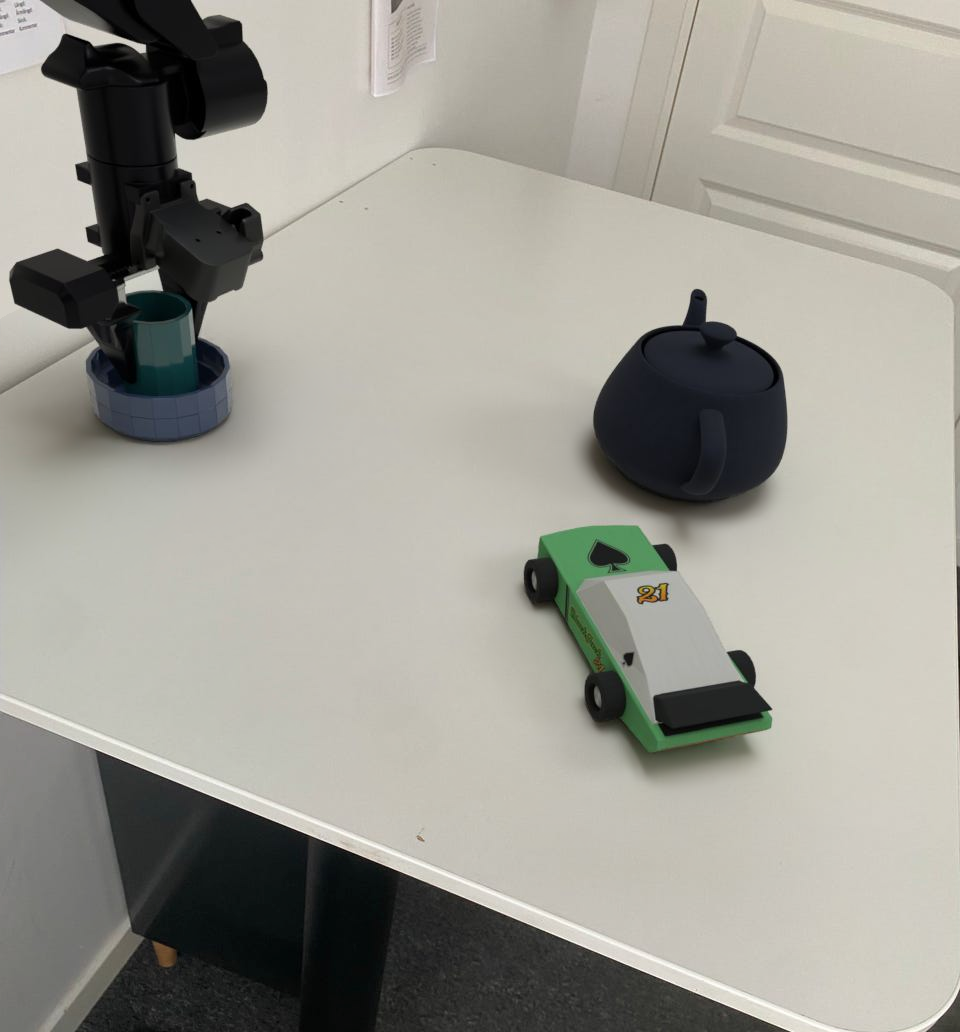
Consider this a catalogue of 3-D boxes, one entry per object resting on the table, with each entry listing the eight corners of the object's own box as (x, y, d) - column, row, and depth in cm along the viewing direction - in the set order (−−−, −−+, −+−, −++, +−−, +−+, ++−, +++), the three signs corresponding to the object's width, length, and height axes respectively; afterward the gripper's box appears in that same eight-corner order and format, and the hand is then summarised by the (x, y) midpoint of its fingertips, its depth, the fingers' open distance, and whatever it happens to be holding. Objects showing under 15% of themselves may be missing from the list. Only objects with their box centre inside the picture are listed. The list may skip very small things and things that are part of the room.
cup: (117, 416, 73) (101, 318, 67) (138, 381, 77) (124, 286, 71) (190, 425, 73) (180, 328, 68) (207, 389, 77) (199, 295, 72)
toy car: (642, 551, 70) (659, 495, 66) (777, 749, 57) (807, 693, 53) (512, 566, 66) (522, 509, 63) (624, 780, 54) (645, 723, 50)
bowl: (75, 436, 71) (65, 388, 69) (117, 369, 79) (110, 324, 76) (216, 452, 72) (212, 406, 69) (244, 384, 80) (241, 340, 77)
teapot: (786, 566, 70) (850, 423, 62) (581, 533, 70) (617, 385, 62) (751, 401, 88) (796, 273, 80) (588, 375, 88) (617, 244, 80)
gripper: (112, 224, 54) (145, 456, 64) (317, 157, 66) (316, 361, 77) (-22, 169, 57) (31, 399, 68) (197, 115, 69) (212, 316, 80)
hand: (158, 368), depth 73 cm, fingers closed on cup, 6 cm apart
